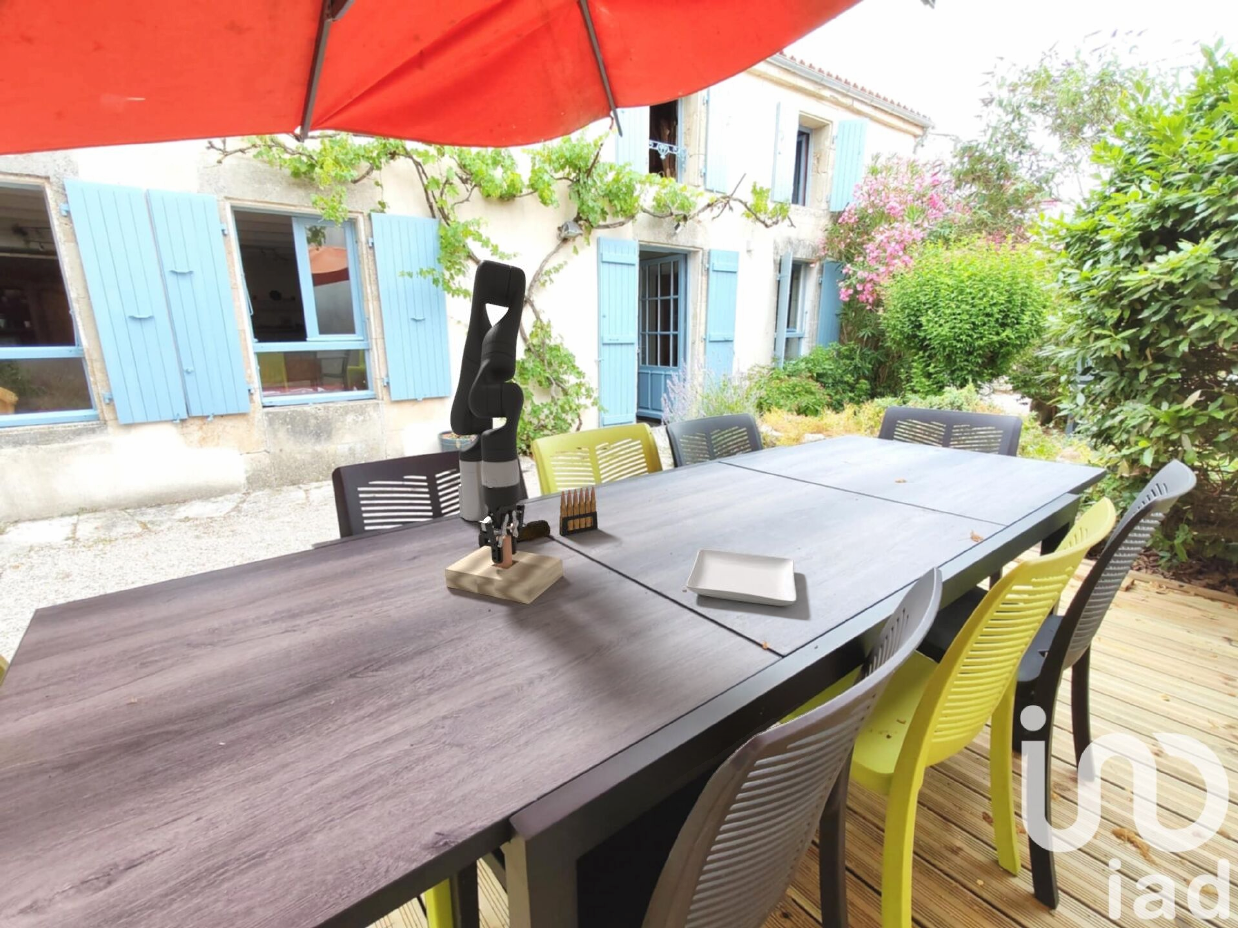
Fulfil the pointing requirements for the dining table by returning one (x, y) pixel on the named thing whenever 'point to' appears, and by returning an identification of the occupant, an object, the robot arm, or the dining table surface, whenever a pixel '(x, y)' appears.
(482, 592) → the hole block
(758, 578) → the salad plate
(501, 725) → the dining table surface
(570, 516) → the ammunition clip
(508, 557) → the peg
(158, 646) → the dining table surface
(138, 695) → the dining table surface
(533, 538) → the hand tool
